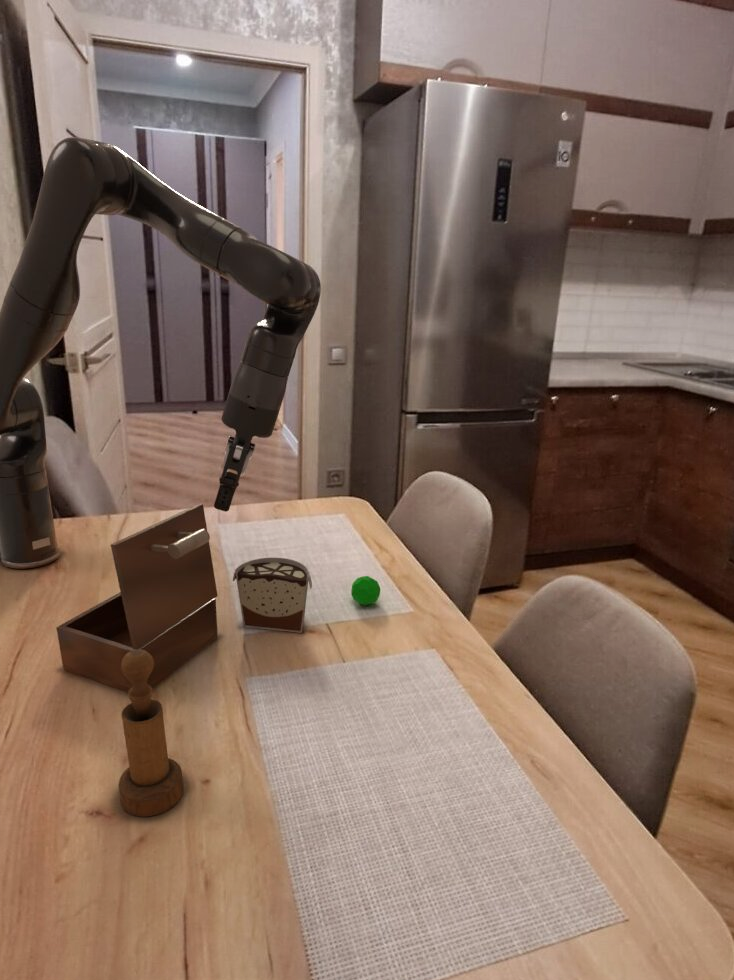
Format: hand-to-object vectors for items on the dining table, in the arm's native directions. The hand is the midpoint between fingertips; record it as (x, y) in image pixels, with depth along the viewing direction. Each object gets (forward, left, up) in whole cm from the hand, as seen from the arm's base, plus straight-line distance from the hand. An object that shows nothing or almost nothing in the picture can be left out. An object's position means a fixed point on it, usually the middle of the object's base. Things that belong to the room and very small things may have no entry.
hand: (224, 500), depth 101 cm
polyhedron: (+17, +15, -20) cm, 30 cm away
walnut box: (-5, -14, -20) cm, 25 cm away
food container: (+7, +3, -20) cm, 22 cm away
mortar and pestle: (+15, -35, -20) cm, 44 cm away
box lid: (+1, -14, -6) cm, 15 cm away
